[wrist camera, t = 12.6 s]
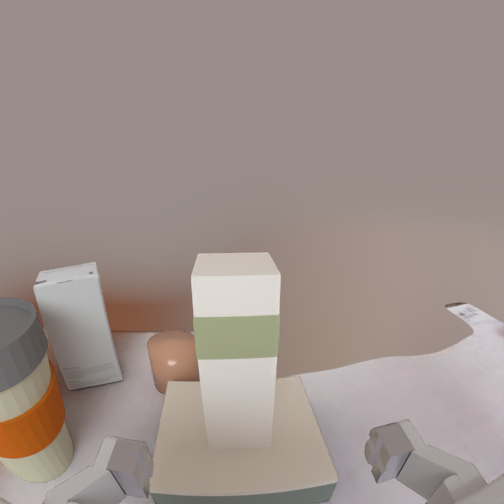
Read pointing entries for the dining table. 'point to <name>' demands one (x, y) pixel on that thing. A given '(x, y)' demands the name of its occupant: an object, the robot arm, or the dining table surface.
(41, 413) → the reusable coffee cup
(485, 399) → the dining table surface
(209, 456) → the podium
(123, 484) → the robot arm
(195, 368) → the peach cylinder
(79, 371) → the skincare box
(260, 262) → the carton
